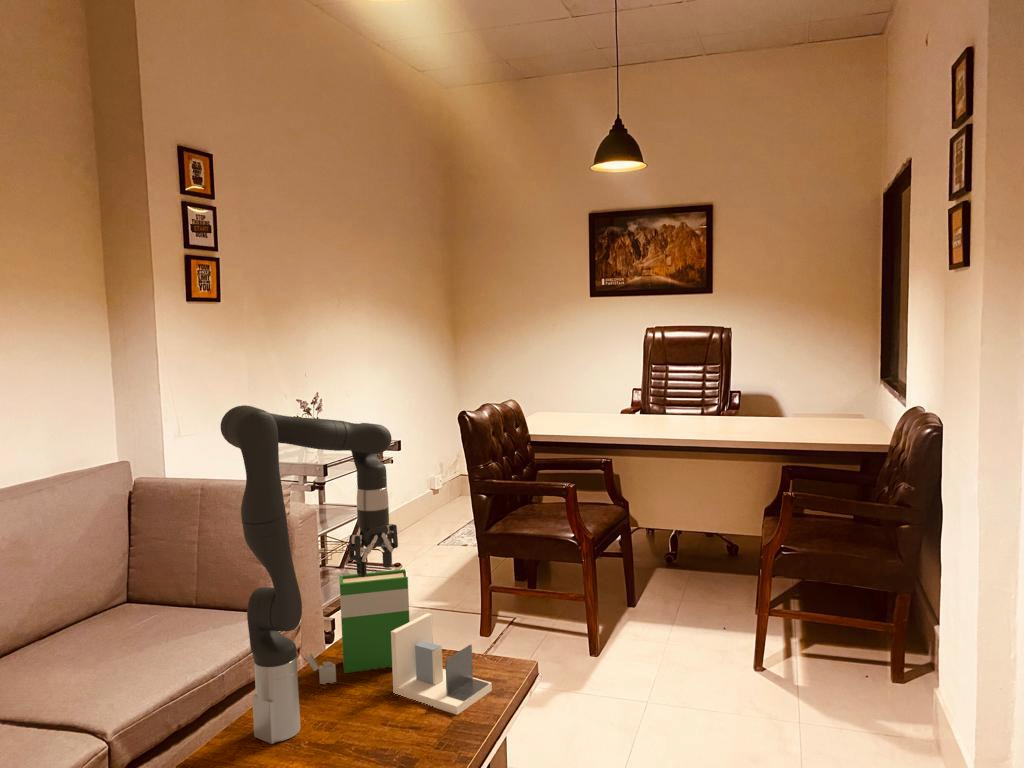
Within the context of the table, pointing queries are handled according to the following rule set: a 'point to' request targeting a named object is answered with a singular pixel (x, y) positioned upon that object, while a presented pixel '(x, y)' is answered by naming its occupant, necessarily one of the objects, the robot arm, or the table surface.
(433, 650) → the small book
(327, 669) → the lighter
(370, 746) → the table surface
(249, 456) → the robot arm
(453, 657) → the bookend
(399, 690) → the shelf
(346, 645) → the hardback book
